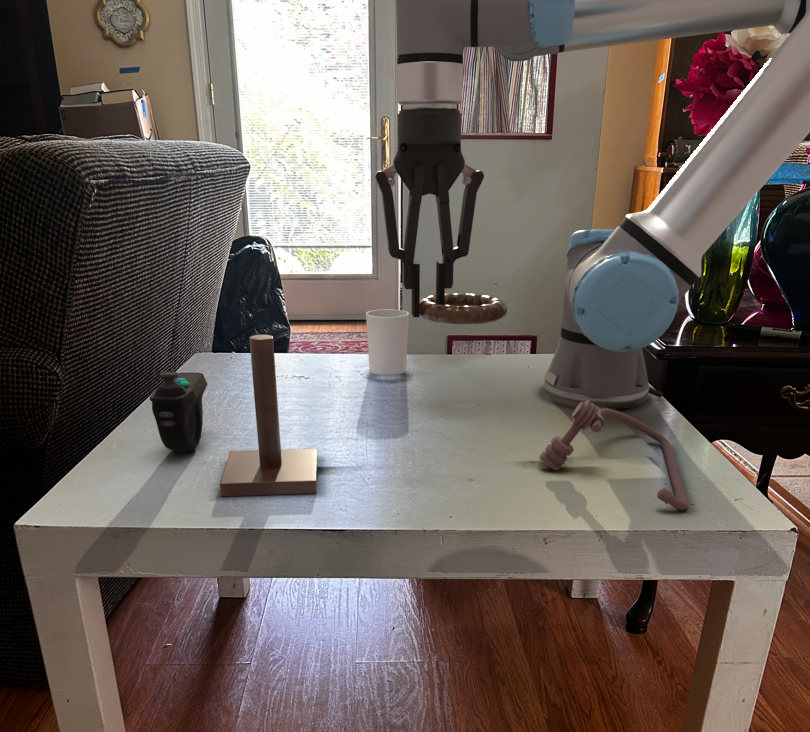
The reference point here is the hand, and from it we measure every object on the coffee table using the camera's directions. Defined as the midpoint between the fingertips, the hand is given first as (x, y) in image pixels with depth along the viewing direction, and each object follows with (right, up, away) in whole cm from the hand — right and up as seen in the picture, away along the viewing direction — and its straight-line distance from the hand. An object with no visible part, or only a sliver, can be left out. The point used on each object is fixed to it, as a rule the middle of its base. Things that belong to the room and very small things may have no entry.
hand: (427, 314), depth 101 cm
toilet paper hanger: (+20, -21, -12) cm, 32 cm away
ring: (+4, +1, 0) cm, 4 cm away
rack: (-18, -22, -14) cm, 32 cm away
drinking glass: (-6, -3, +25) cm, 25 cm away
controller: (-30, -18, -5) cm, 35 cm away
